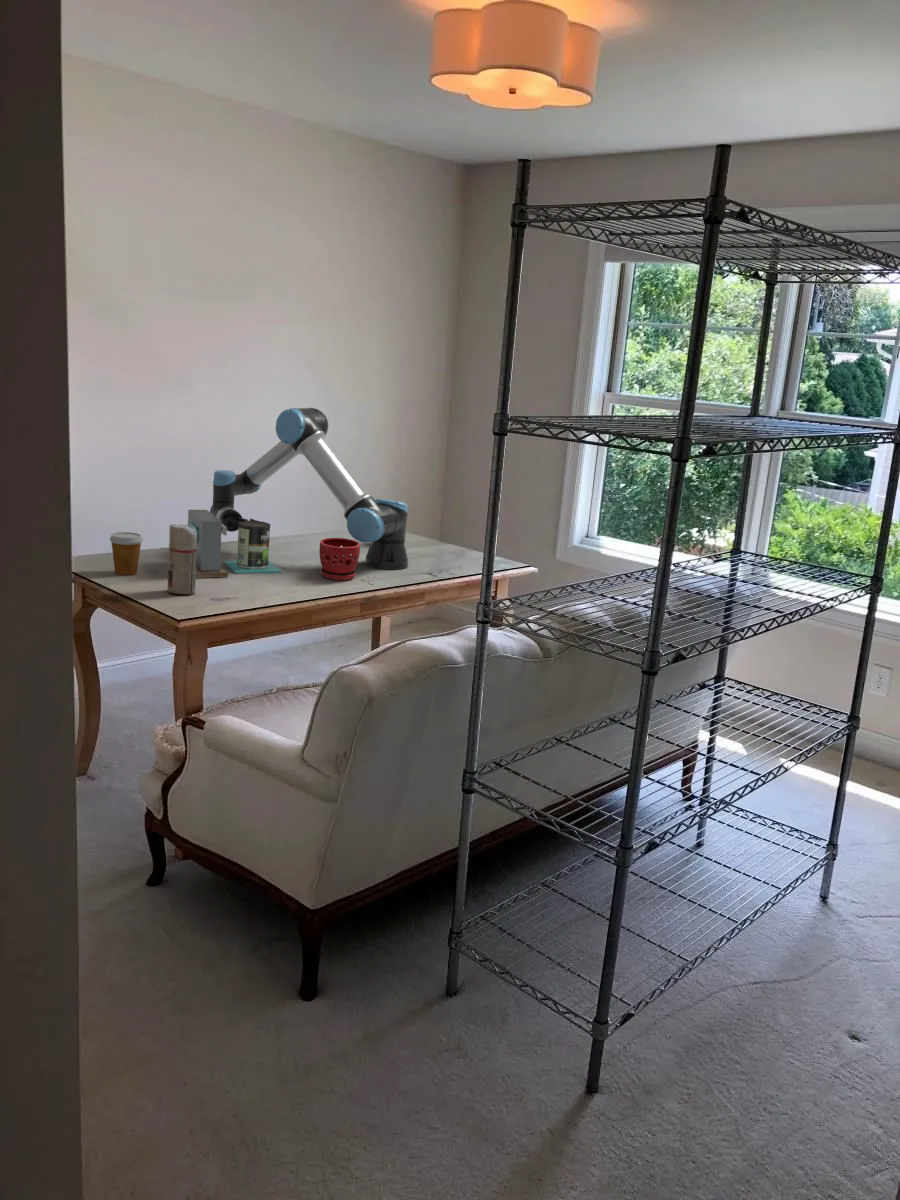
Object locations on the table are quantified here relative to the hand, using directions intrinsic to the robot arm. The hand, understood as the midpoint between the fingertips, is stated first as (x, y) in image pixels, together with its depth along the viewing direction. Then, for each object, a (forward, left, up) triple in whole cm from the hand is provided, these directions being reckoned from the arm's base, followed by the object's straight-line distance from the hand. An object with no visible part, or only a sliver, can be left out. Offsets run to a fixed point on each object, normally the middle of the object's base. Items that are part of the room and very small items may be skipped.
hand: (245, 531), depth 330 cm
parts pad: (-8, +5, -10) cm, 14 cm away
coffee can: (-8, +4, -10) cm, 13 cm away
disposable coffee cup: (+9, +42, -11) cm, 44 cm away
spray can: (-18, +44, -11) cm, 48 cm away
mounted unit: (0, +19, -10) cm, 21 cm away
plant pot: (-33, -9, -11) cm, 36 cm away
